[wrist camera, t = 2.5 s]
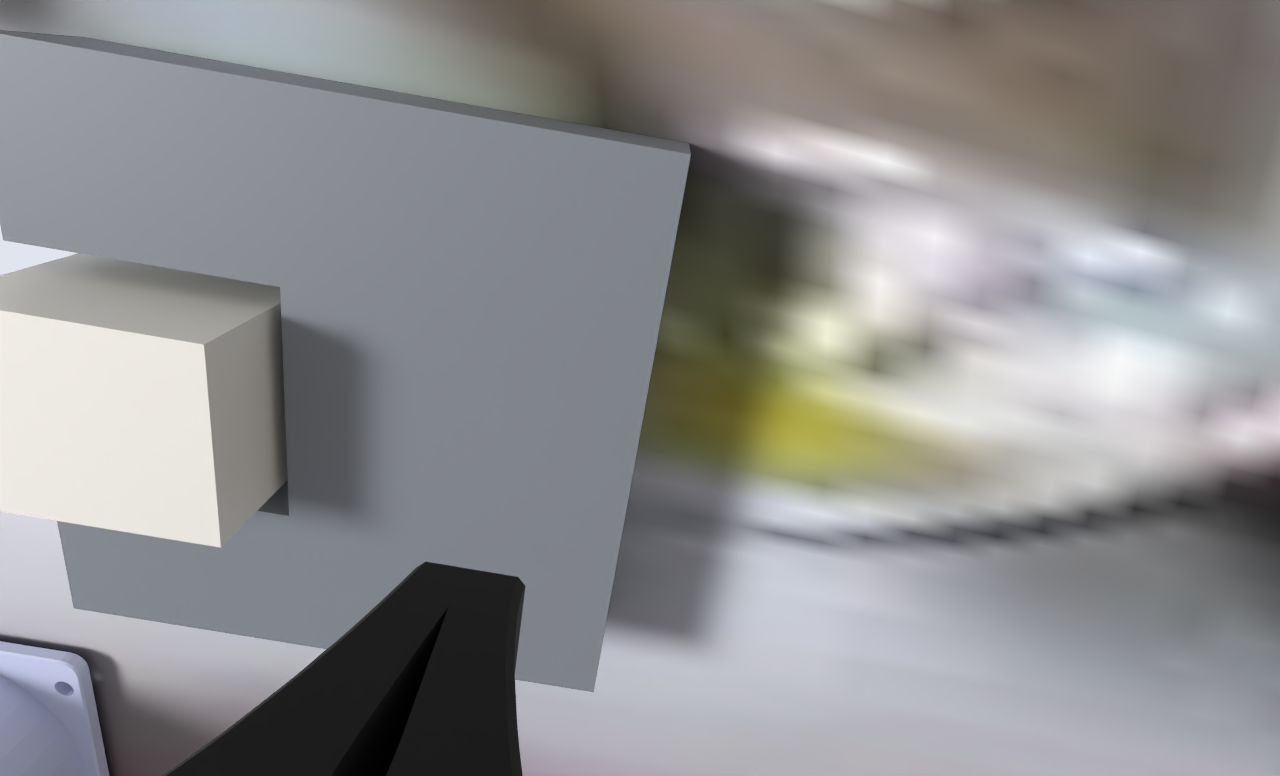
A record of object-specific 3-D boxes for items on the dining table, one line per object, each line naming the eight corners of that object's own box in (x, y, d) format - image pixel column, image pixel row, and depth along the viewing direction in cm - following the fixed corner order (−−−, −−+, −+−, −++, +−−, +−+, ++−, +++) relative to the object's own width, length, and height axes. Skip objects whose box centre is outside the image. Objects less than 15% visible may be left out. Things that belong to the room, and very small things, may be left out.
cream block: (329, 276, 16) (203, 345, 12) (330, 436, 17) (220, 547, 13) (123, 241, 16) (-77, 296, 11) (144, 405, 17) (-26, 507, 13)
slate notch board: (689, 142, 14) (690, 154, 12) (603, 618, 19) (593, 692, 17) (81, 37, 14) (-38, 27, 12) (148, 543, 19) (74, 608, 16)
